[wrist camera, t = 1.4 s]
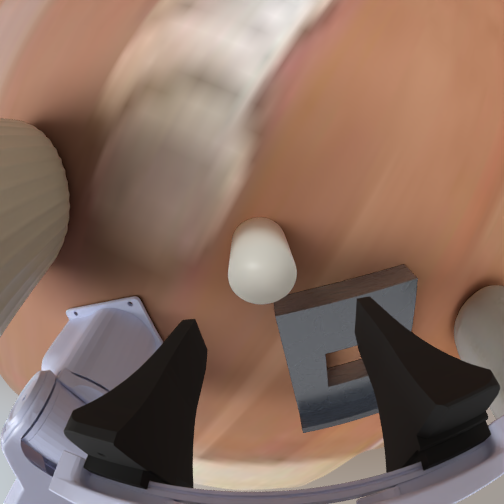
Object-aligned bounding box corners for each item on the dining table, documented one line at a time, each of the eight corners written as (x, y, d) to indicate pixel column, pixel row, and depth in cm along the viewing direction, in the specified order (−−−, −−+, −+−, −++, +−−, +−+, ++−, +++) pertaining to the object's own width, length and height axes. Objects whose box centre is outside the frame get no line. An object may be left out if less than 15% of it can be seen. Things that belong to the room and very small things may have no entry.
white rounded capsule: (239, 271, 22) (238, 310, 17) (225, 224, 20) (219, 253, 15) (290, 260, 21) (301, 296, 17) (279, 211, 20) (290, 236, 15)
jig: (298, 402, 29) (303, 432, 25) (272, 298, 22) (278, 333, 18) (391, 376, 28) (404, 402, 24) (404, 264, 22) (429, 290, 17)
